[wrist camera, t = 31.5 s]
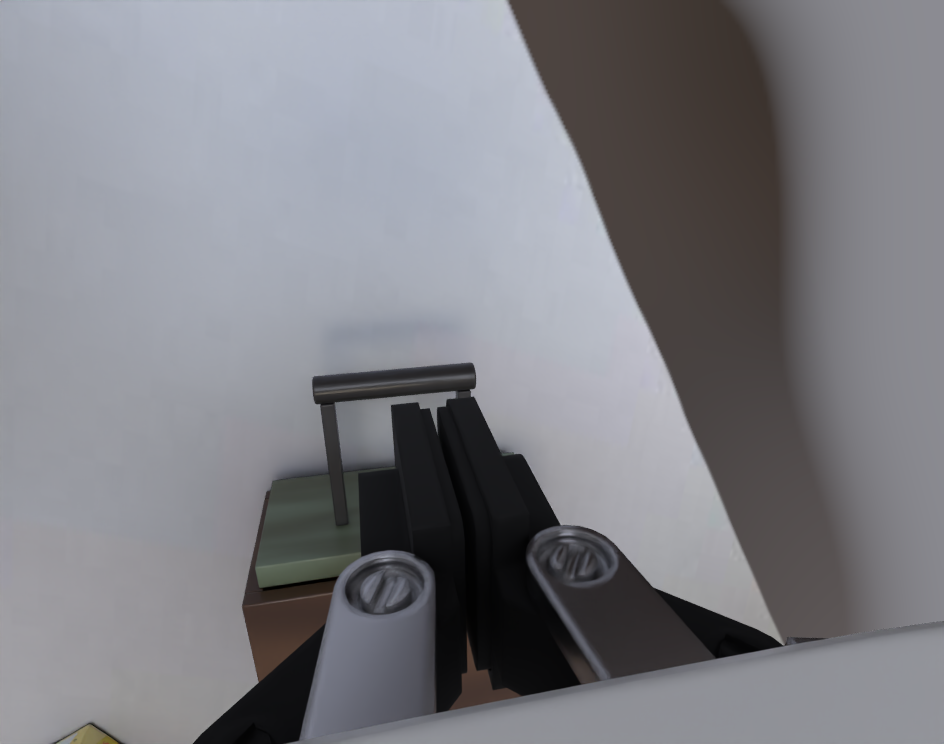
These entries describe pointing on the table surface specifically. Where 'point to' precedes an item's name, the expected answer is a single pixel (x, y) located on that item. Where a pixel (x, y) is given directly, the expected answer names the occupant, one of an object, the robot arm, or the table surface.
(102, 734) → the candy box
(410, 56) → the table surface
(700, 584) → the table surface
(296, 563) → the handled lid slab
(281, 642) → the cabinet
